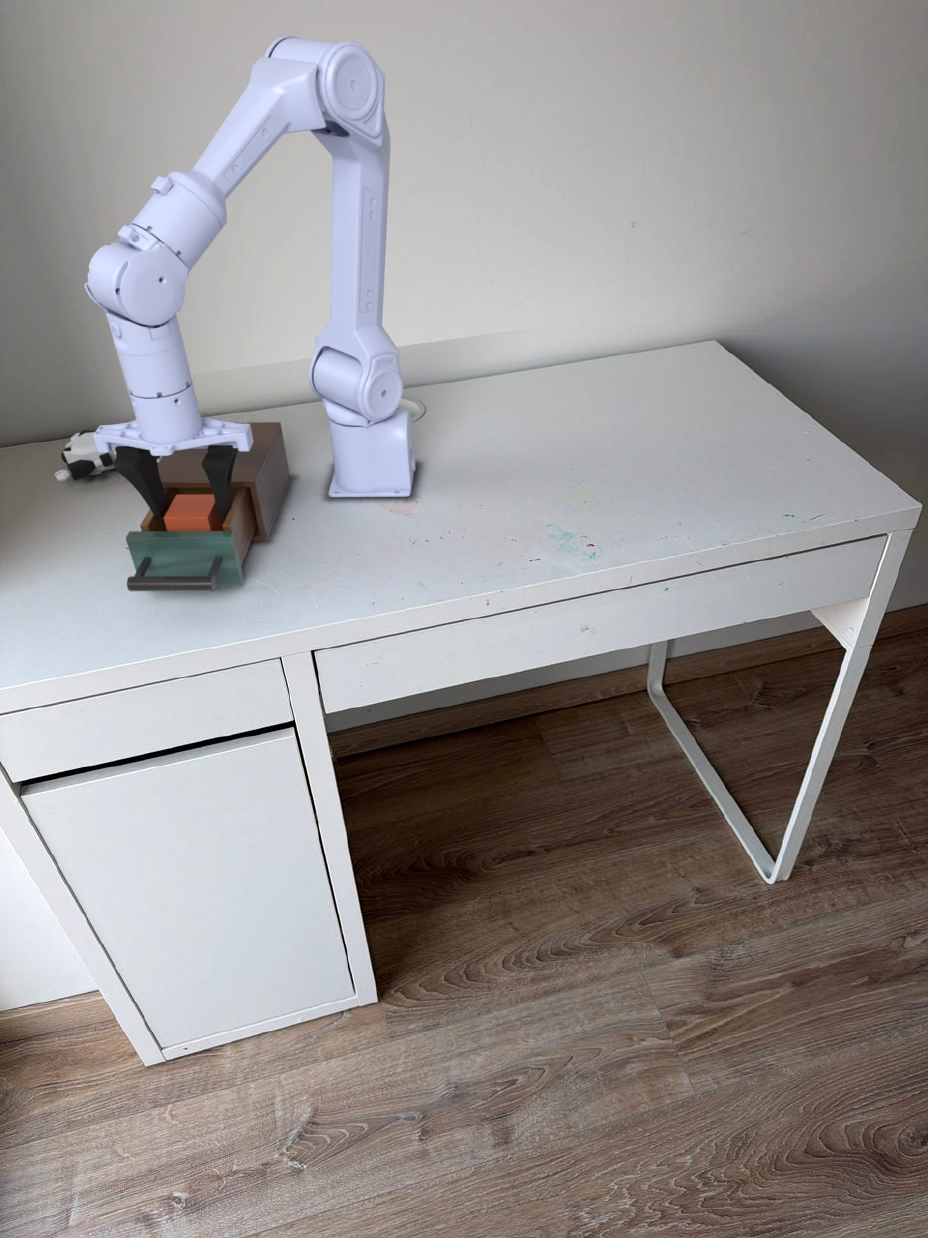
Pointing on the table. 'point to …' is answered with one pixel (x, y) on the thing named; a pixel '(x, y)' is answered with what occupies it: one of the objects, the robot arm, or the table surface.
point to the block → (193, 514)
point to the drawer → (192, 548)
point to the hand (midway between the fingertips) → (193, 512)
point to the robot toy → (85, 457)
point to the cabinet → (240, 473)
